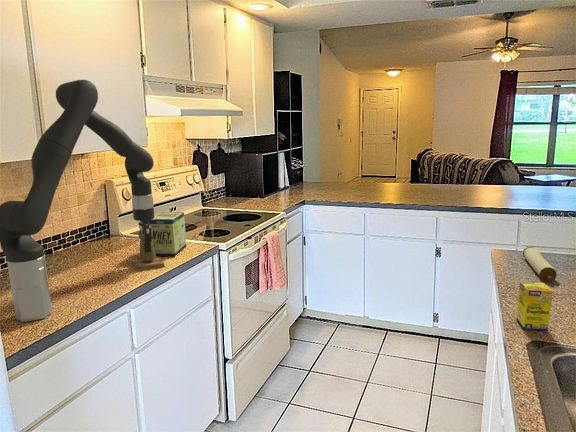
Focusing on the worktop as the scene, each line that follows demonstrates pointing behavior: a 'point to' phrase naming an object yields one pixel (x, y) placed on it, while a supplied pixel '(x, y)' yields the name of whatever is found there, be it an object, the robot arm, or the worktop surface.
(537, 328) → the supplement box
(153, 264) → the brown square tray
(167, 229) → the protein box
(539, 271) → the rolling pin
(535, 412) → the worktop surface
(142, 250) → the cork
